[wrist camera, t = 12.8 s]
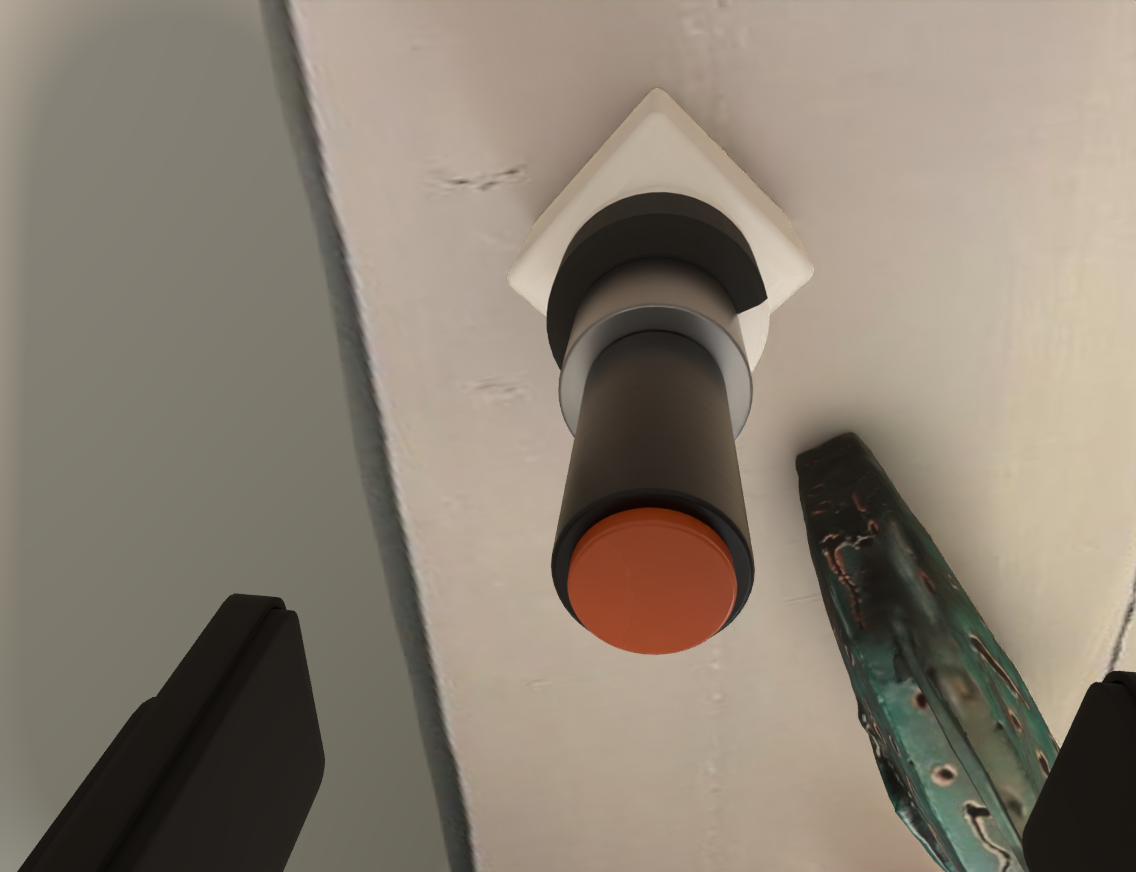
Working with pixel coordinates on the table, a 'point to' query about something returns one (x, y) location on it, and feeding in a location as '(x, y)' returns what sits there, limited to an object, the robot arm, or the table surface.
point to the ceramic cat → (923, 668)
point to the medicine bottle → (661, 225)
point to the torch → (654, 460)
